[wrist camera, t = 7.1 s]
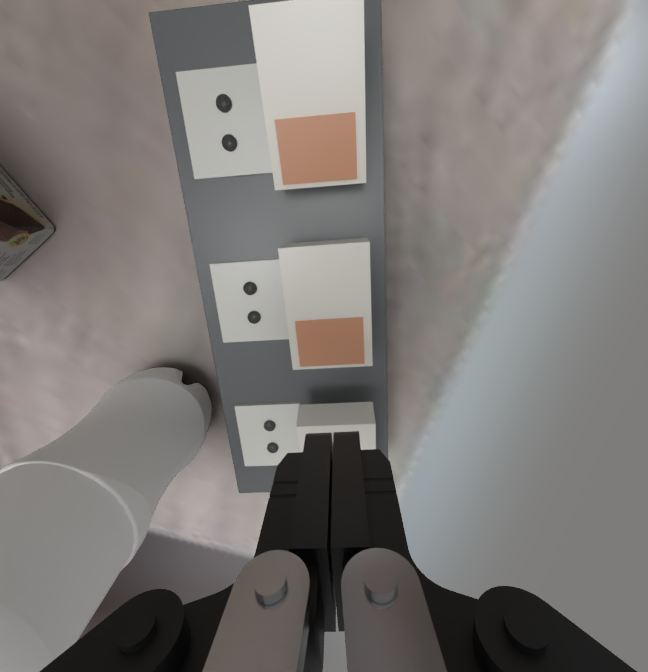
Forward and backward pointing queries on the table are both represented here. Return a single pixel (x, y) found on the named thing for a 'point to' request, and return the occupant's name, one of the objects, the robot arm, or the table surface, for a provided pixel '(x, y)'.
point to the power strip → (263, 230)
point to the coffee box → (18, 226)
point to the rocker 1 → (312, 90)
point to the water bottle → (88, 509)
